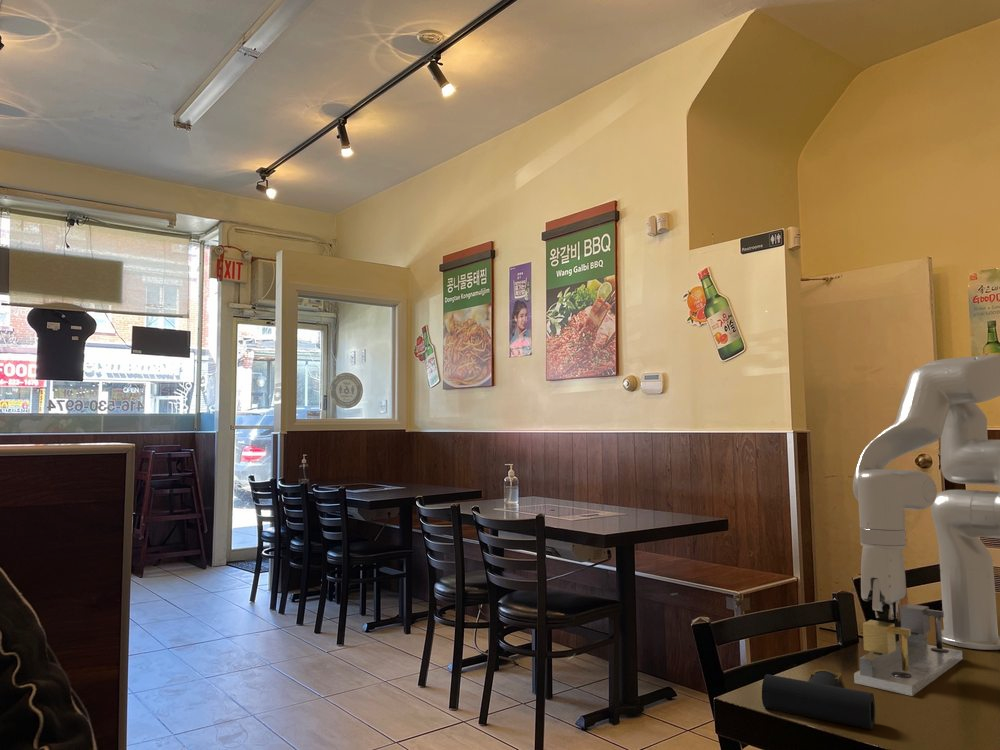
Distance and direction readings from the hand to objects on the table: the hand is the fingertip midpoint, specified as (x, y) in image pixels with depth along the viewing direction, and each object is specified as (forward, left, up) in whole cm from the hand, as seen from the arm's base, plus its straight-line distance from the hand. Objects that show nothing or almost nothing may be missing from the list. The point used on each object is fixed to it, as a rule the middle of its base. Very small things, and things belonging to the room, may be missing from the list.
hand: (888, 640), depth 129 cm
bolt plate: (-3, +3, -6) cm, 7 cm away
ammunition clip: (-20, -5, -6) cm, 22 cm away
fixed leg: (-15, +2, -4) cm, 16 cm away
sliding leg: (+4, +2, -3) cm, 6 cm away
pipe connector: (+28, -1, -6) cm, 29 cm away
